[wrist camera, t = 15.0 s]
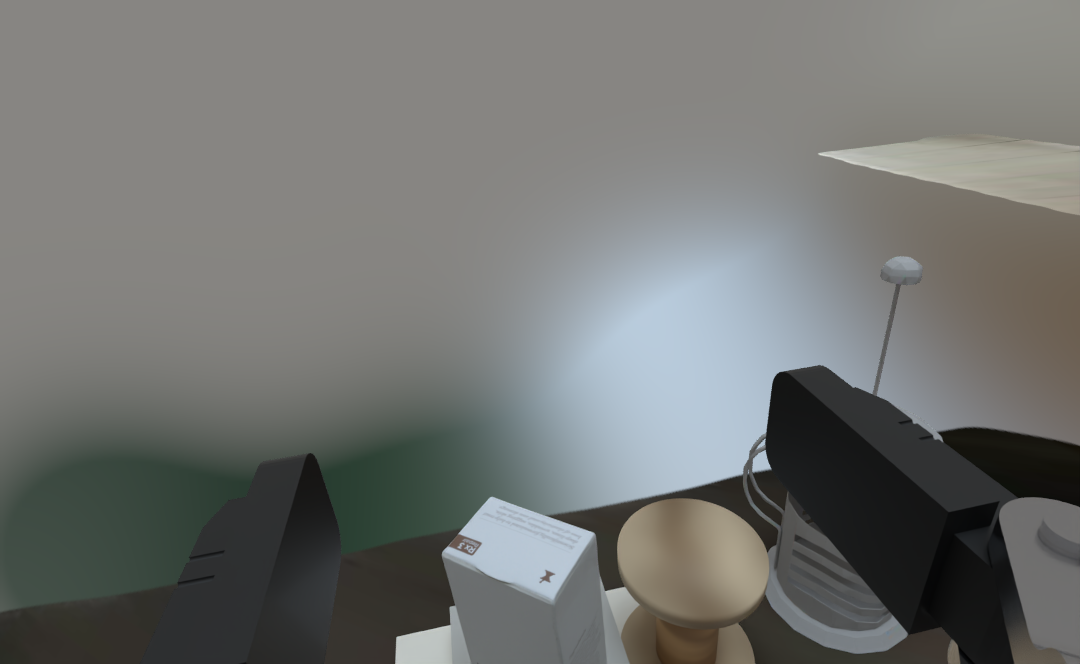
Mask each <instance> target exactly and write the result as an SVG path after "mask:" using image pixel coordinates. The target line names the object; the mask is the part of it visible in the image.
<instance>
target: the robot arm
mask: <svg viewBox="0 0 1080 664" xmlns="http://www.w3.org/2000/svg"><path fill="white" fill-rule="evenodd" d="M765 447H766V454H767V458H768V462H769V464H770V467H771V469H772V471H773V472H774V474H775V475H776V477H777V478H778V479H779V481H780V482H781V483H782V484H783V485H784V486H785V488H786V489H787V490H788V491H789V492H790V494H791V495H792V496H793V497H794V498H795V500H796V501H797V502H798V503H799V504H800V506H801V507H802V508H803V509H804V510H805V511H806V513H807V514H808V515H809V516H810V517H811V519H812V520H813V521H814V522H815V523H816V525H817V526H818V527H819V528H820V529H821V531H822V532H823V533H824V534H825V535H826V537H827V538H828V539H829V540H830V541H831V542H832V544H833V545H834V546H835V547H836V548H837V550H838V551H839V552H840V553H841V554H842V556H843V557H844V558H845V559H846V560H847V562H848V563H849V564H850V565H851V566H852V567H853V569H854V570H855V571H856V572H857V573H858V575H859V576H860V577H861V578H862V579H863V581H864V582H865V583H866V584H867V585H868V587H869V588H870V589H871V590H872V591H873V593H874V594H875V595H876V596H877V597H878V598H879V600H880V601H881V602H882V603H883V604H884V606H885V607H886V608H887V609H888V610H889V612H890V613H891V614H892V615H893V616H894V618H895V619H896V620H897V621H898V622H899V623H900V625H901V626H902V627H903V628H904V629H905V631H906V632H907V633H908V634H909V635H910V634H914V633H918V632H922V631H926V630H930V629H934V628H938V627H942V628H943V629H944V630H945V632H946V633H947V634H948V635H949V636H950V637H951V638H952V639H951V642H950V645H949V648H948V664H1080V507H1077V506H1074V505H1071V504H1068V503H1065V502H1061V501H1057V500H1051V499H1045V498H1034V497H1032V498H1020V499H1019V498H1017V497H1016V496H1015V495H1013V494H1012V493H1011V492H1009V491H1008V490H1007V489H1005V488H1004V487H1003V486H1001V485H1000V484H999V483H997V482H996V481H994V480H993V479H992V478H990V477H989V476H988V475H986V474H985V473H984V472H982V471H981V470H980V469H978V468H977V467H976V466H974V465H973V464H972V463H970V462H969V461H968V460H966V459H965V458H964V457H962V456H961V455H960V454H958V453H957V452H955V451H954V450H953V449H951V448H950V447H949V446H947V445H946V444H945V443H943V442H942V441H941V440H939V439H936V440H935V439H934V437H933V434H931V433H930V432H929V431H927V430H926V429H925V428H923V427H922V426H921V425H919V424H918V423H916V424H914V423H913V421H912V419H911V418H910V417H908V416H907V415H906V414H904V413H903V412H902V411H900V410H899V409H898V408H896V407H895V406H894V405H892V404H891V403H889V402H888V401H886V400H884V399H882V398H879V397H877V396H875V395H872V394H870V393H868V392H866V391H863V390H861V389H859V388H856V387H855V388H852V387H851V386H850V385H849V384H848V383H846V382H845V381H844V380H842V379H841V378H840V377H838V376H837V375H836V374H835V373H833V372H832V371H831V370H829V369H828V368H826V367H824V366H821V365H818V366H813V367H807V368H801V369H795V370H790V371H784V372H779V373H778V374H777V375H776V376H775V378H774V380H773V384H772V391H771V399H770V407H769V416H768V424H767V432H766V442H765ZM189 558H190V562H189V563H187V564H186V565H185V567H184V570H183V572H182V574H181V576H180V578H179V580H178V588H177V589H174V591H173V593H172V595H171V598H170V600H169V602H168V604H167V606H166V608H165V610H164V613H163V615H162V617H161V619H160V621H159V623H158V626H157V628H156V630H155V632H154V634H153V636H152V638H151V641H150V643H149V645H148V647H147V649H146V651H145V653H144V656H143V658H142V660H141V662H140V664H324V660H325V654H326V648H327V642H328V636H329V629H330V623H331V617H332V611H333V605H334V599H335V592H336V586H337V580H338V574H339V568H340V561H341V541H340V532H339V527H338V523H337V519H336V516H335V513H334V510H333V507H332V504H331V501H330V498H329V495H328V492H327V489H326V486H325V483H324V480H323V477H322V473H321V470H320V467H319V464H318V462H317V459H316V458H315V456H314V455H313V454H311V453H309V454H303V455H297V456H291V457H286V458H280V459H275V460H269V461H263V462H262V463H261V464H260V465H259V466H258V469H257V471H256V473H255V476H254V479H253V481H252V484H251V486H250V489H249V491H248V494H247V496H246V497H244V498H238V499H232V500H229V501H228V502H227V503H226V504H225V505H224V506H223V507H222V508H221V509H220V510H219V511H218V512H217V513H216V514H215V515H214V517H212V519H211V520H210V521H209V522H208V523H207V524H206V525H205V526H204V527H203V529H202V531H201V533H200V535H199V537H198V540H197V542H196V544H195V546H194V548H193V550H192V552H191V555H190V557H189Z"/></svg>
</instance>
